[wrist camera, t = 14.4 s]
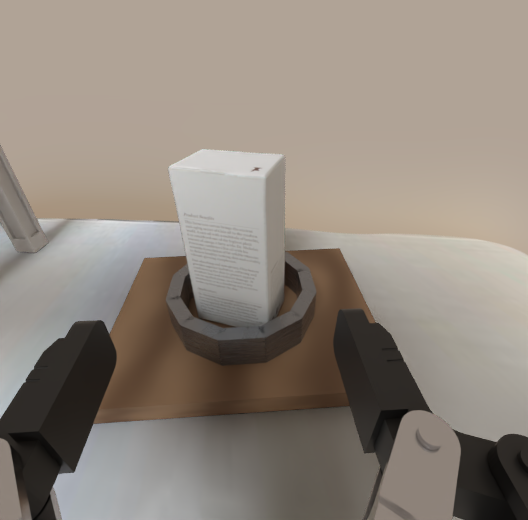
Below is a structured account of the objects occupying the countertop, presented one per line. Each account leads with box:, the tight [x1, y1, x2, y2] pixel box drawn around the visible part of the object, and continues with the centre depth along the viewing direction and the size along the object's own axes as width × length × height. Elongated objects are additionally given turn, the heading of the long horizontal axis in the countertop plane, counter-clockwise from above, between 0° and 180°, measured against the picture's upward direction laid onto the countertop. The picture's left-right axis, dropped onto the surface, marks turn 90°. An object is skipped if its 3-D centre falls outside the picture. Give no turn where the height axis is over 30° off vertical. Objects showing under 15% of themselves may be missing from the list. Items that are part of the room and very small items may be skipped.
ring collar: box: [166, 252, 317, 366], centre depth 24 cm, size 11×11×2 cm
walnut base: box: [93, 248, 376, 424], centre depth 25 cm, size 20×16×2 cm
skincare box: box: [168, 149, 285, 327], centre depth 21 cm, size 6×4×12 cm
